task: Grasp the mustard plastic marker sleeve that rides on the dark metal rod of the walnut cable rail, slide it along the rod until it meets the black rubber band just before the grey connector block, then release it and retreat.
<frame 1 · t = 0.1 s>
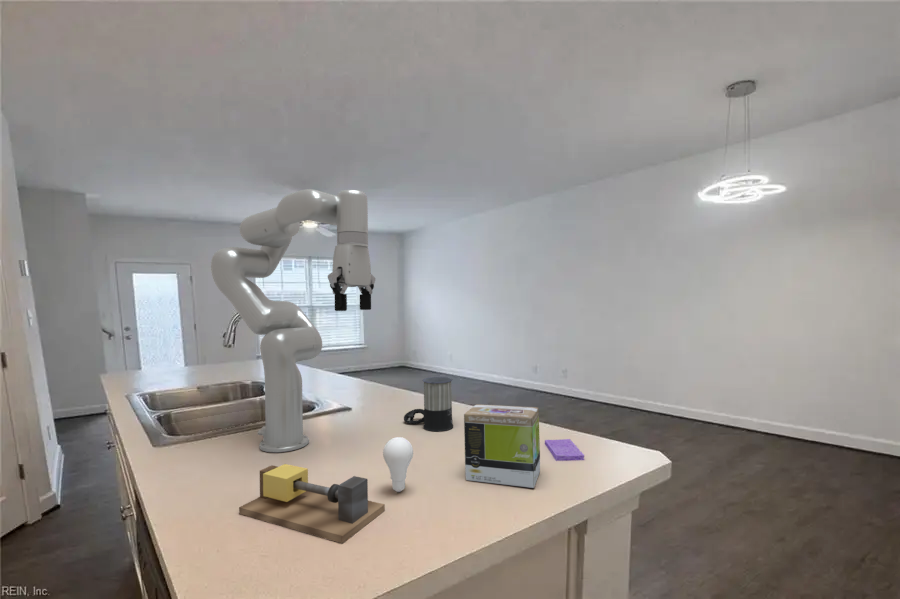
hand: (353, 310, 109), 37 cm above the counter, tool pointing down, fingers open, 9 cm apart
cable rail: (312, 512, 81), on the counter
marker sleeve: (285, 482, 84), point 5 cm above the counter, slide at -6.5 cm
tea box: (503, 477, 97), on the counter
sponges: (563, 454, 112), on the counter
lightbulb: (398, 492, 90), on the counter
milk frother: (428, 426, 137), on the counter
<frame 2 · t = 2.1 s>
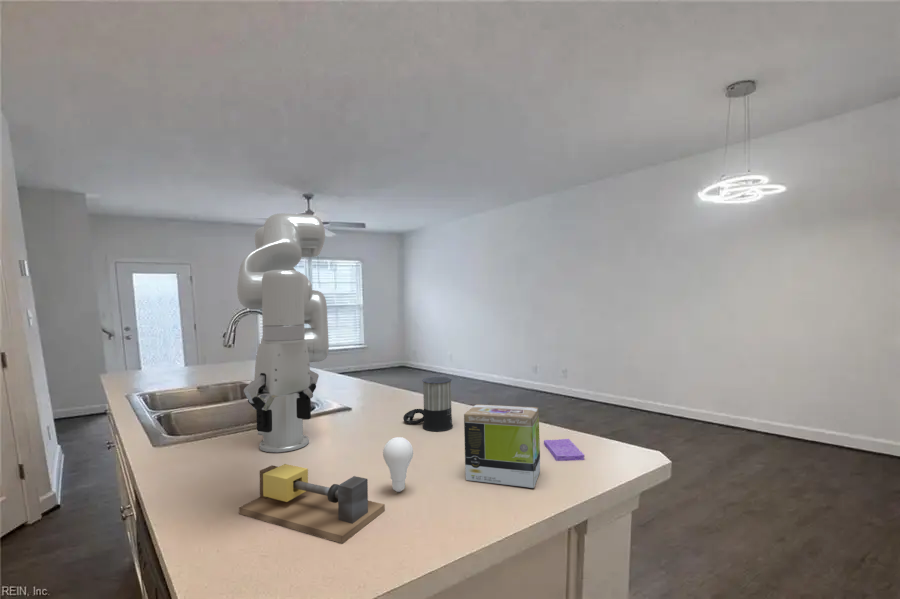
hand: (285, 424, 84), 16 cm above the counter, tool pointing down, fingers open, 9 cm apart
nothing on the counter moved.
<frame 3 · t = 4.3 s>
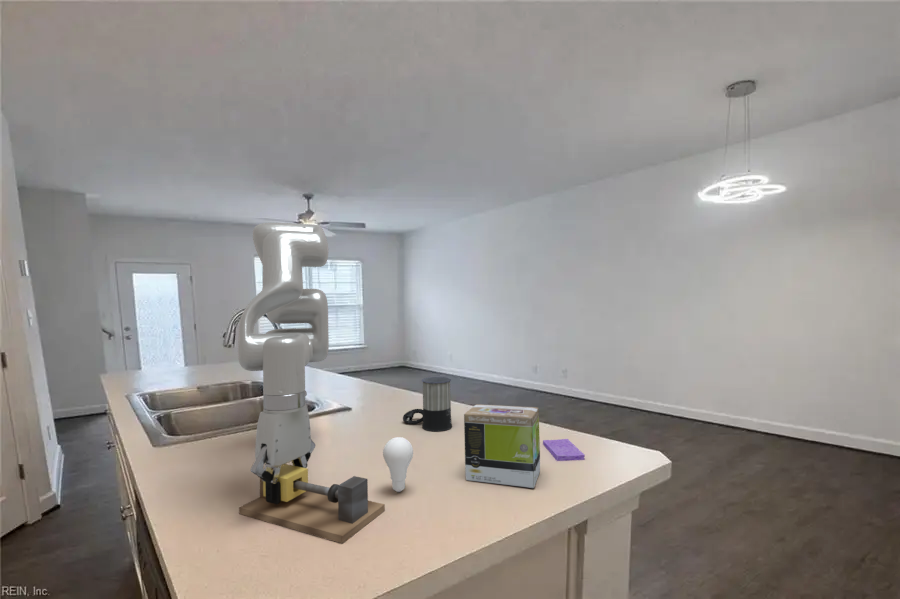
hand: (286, 494, 84), 2 cm above the counter, tool pointing down, fingers closed on marker sleeve, 5 cm apart
marker sleeve: (285, 482, 84), point 5 cm above the counter, slide at -6.5 cm, touching gripper
everything else where it was.
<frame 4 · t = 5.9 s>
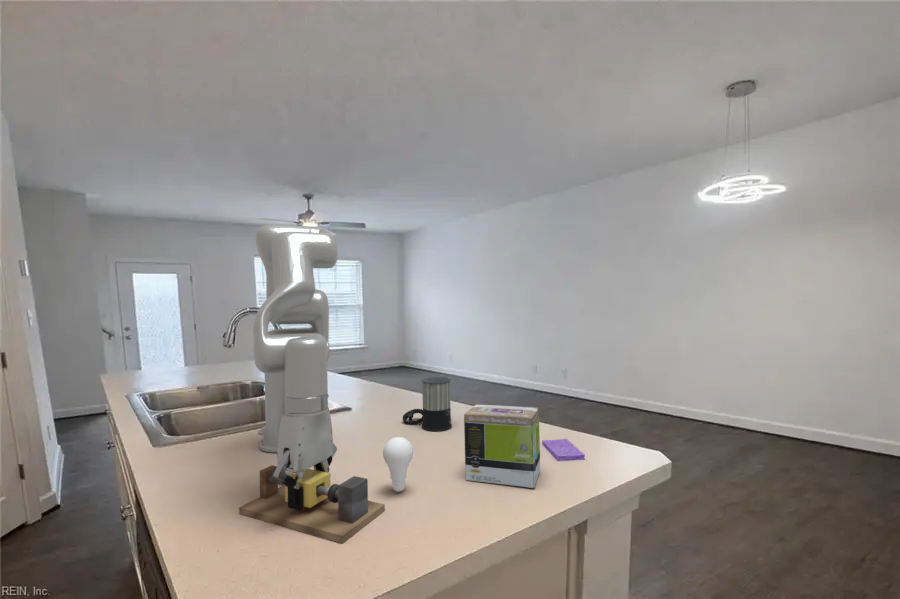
hand: (308, 500, 82), 2 cm above the counter, tool pointing down, fingers closed on marker sleeve, 5 cm apart
marker sleeve: (308, 487, 82), point 5 cm above the counter, slide at -0.9 cm, touching gripper
everything else where it was.
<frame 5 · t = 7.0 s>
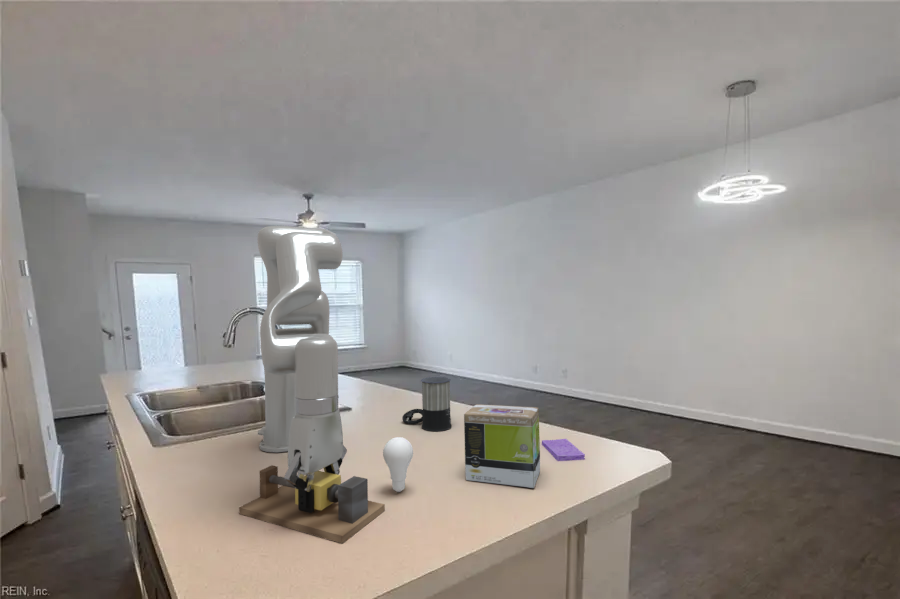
hand: (318, 502, 81), 2 cm above the counter, tool pointing down, fingers closed on marker sleeve, 5 cm apart
marker sleeve: (318, 489, 81), point 5 cm above the counter, slide at 1.6 cm, touching gripper
everything else where it was.
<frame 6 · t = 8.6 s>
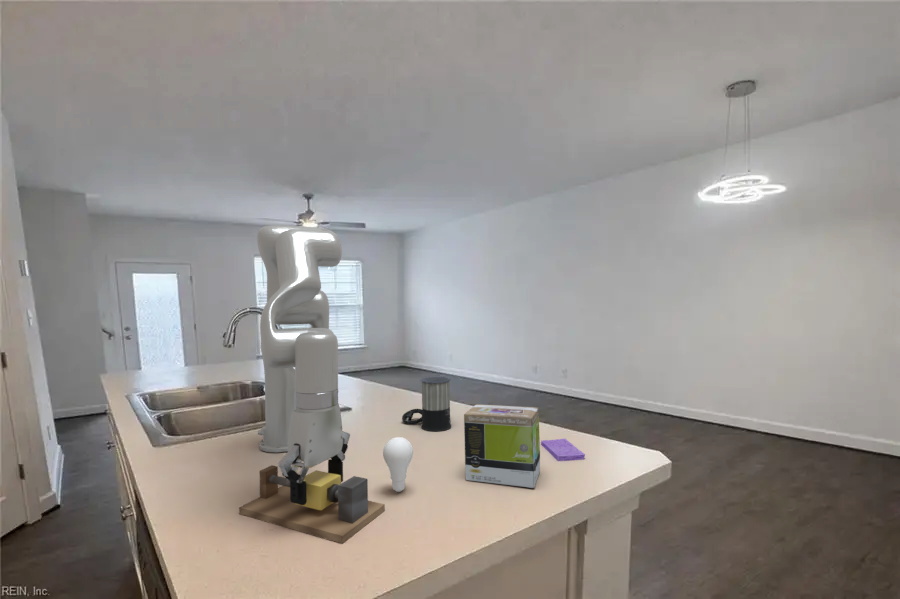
hand: (318, 491, 81), 4 cm above the counter, tool pointing down, fingers open, 9 cm apart
marker sleeve: (318, 489, 81), point 5 cm above the counter, slide at 1.6 cm
everything else where it was.
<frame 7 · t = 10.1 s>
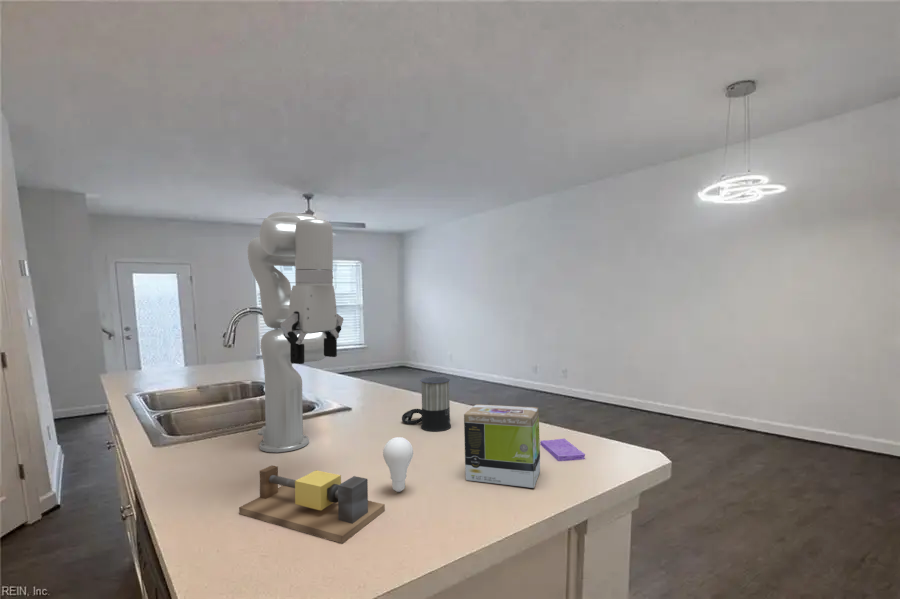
hand: (314, 359, 93), 27 cm above the counter, tool pointing down, fingers open, 9 cm apart
nothing on the counter moved.
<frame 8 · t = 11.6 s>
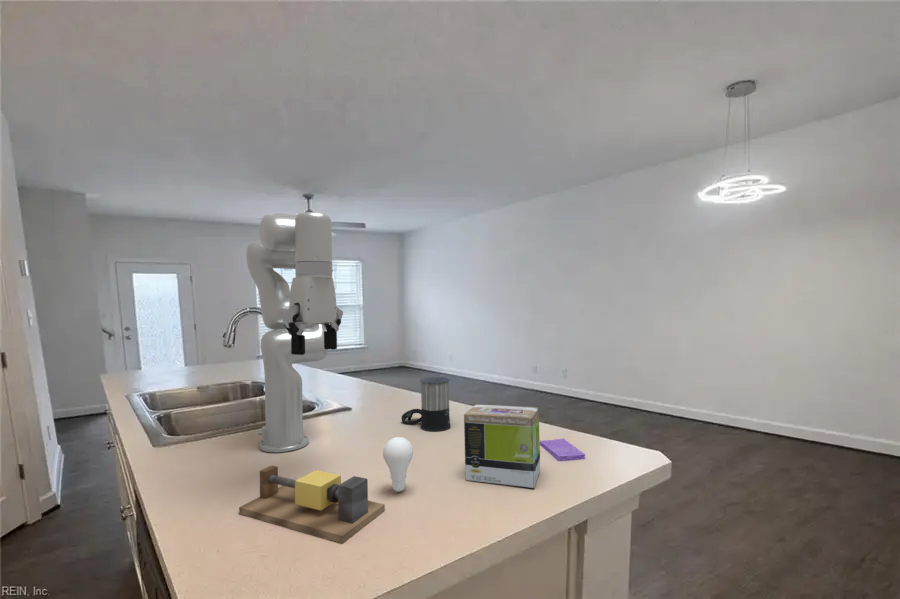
hand: (315, 351, 94), 28 cm above the counter, tool pointing down, fingers open, 9 cm apart
nothing on the counter moved.
at the end: marker sleeve slide at 1.6 cm; the gripper is holding nothing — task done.
